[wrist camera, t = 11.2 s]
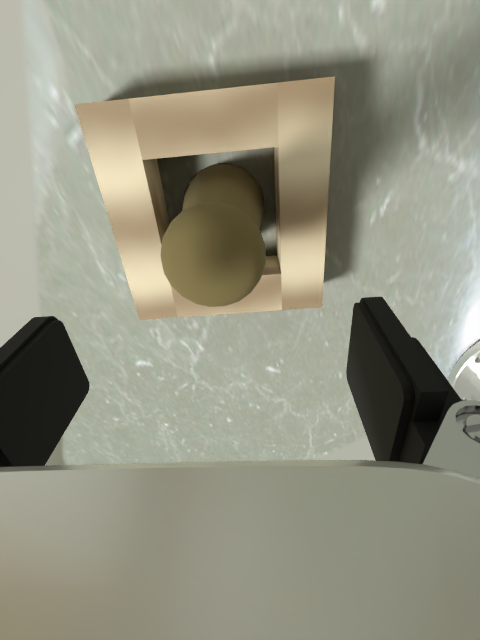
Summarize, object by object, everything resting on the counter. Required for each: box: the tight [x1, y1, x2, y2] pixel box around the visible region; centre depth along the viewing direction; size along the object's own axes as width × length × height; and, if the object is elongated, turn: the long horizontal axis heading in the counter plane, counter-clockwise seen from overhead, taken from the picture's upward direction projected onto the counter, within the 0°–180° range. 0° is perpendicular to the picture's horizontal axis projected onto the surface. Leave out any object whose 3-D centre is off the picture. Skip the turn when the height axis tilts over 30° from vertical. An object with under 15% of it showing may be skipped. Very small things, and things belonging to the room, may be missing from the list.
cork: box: [161, 164, 266, 307], centre depth 20 cm, size 6×6×11 cm
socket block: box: [74, 76, 335, 320], centre depth 23 cm, size 14×14×4 cm
